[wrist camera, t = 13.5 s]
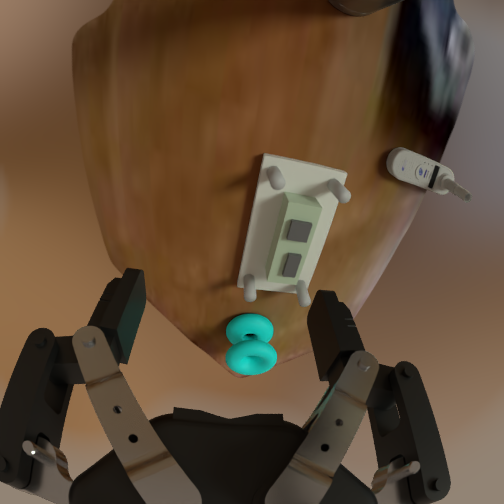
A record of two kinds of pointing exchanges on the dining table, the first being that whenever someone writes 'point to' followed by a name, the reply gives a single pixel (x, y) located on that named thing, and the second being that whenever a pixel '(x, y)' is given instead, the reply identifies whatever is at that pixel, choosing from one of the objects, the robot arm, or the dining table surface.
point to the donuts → (250, 344)
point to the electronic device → (424, 173)
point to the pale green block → (292, 238)
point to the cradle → (266, 214)
